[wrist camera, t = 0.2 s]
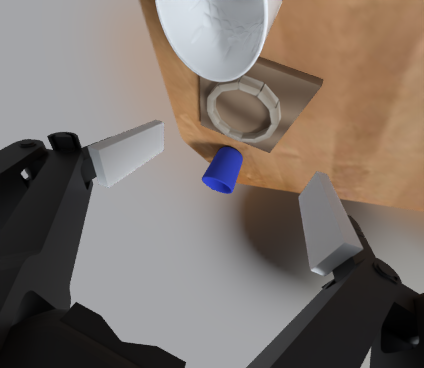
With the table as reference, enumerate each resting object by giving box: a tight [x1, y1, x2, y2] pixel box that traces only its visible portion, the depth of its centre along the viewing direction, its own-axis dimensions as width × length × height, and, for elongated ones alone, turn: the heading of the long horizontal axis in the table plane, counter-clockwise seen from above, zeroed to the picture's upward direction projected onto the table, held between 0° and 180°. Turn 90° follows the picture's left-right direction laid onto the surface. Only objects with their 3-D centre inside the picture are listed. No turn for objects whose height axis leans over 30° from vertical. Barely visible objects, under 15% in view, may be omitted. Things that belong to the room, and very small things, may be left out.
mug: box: [202, 147, 243, 194], centre depth 43 cm, size 8×12×10 cm
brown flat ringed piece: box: [200, 56, 323, 153], centre depth 27 cm, size 16×16×3 cm
